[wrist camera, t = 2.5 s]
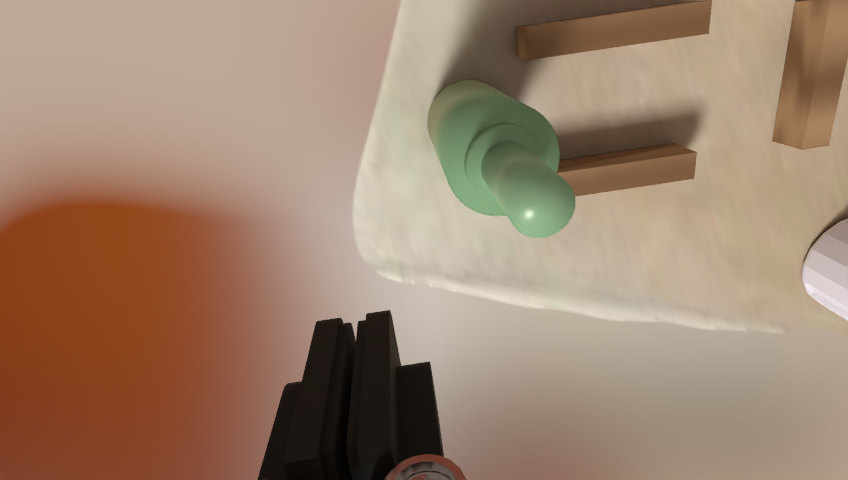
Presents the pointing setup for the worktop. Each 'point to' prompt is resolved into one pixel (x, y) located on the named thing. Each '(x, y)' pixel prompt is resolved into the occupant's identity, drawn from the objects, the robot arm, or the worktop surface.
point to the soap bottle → (829, 269)
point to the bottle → (500, 157)
